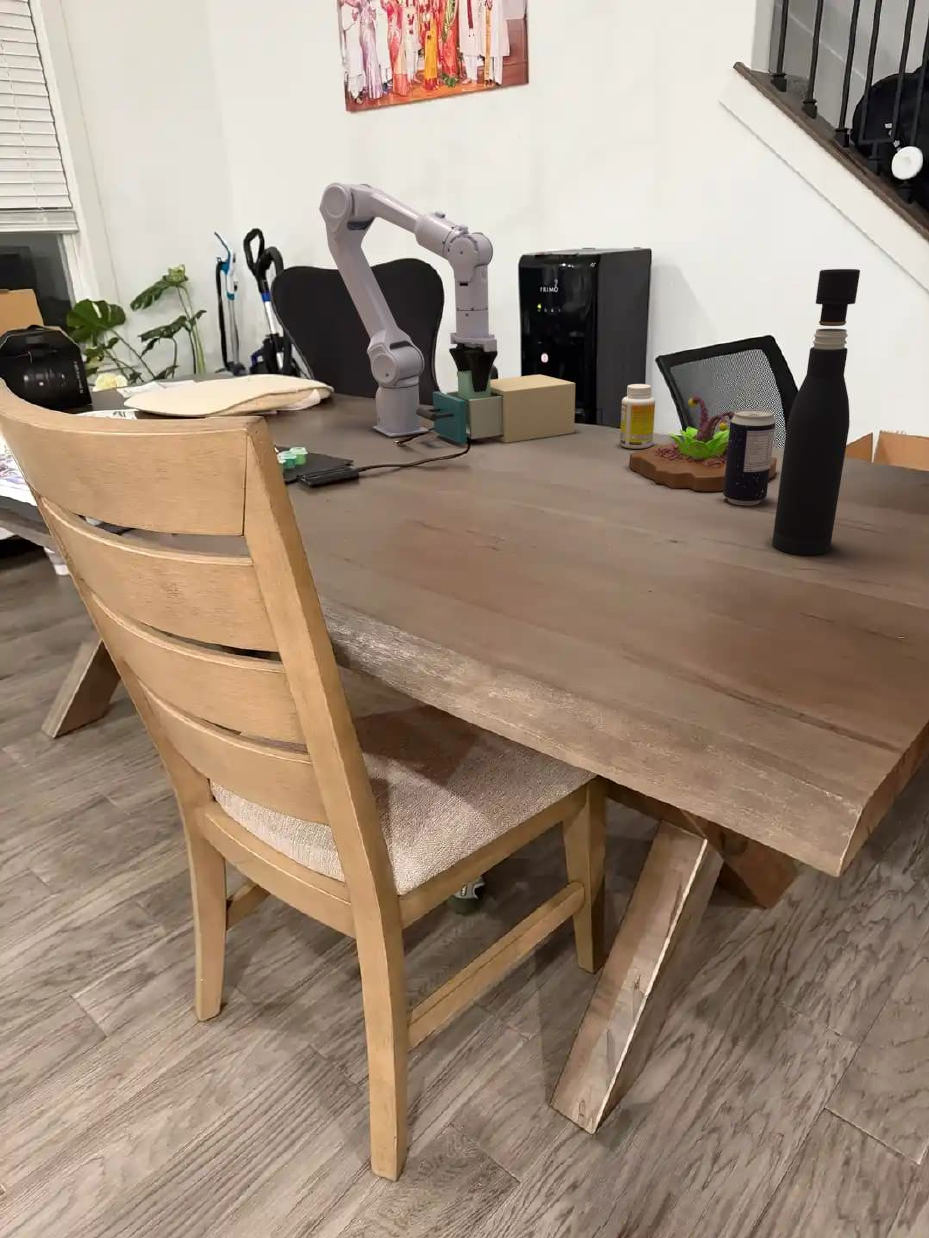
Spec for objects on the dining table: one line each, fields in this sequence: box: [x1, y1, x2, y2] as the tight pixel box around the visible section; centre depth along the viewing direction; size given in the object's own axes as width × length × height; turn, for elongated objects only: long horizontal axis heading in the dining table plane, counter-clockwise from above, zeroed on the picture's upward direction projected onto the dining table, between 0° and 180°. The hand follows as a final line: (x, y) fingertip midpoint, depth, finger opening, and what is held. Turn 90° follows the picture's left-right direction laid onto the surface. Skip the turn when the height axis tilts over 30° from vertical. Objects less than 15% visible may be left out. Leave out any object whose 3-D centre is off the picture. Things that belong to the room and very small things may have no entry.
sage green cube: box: [457, 371, 491, 400], centre depth 152 cm, size 4×4×4 cm
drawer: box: [416, 390, 503, 444], centre depth 153 cm, size 18×11×7 cm, turn 116°
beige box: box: [490, 374, 576, 444], centre depth 158 cm, size 15×13×9 cm
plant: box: [628, 396, 778, 492], centre depth 128 cm, size 20×20×11 cm
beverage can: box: [722, 408, 776, 506], centre depth 113 cm, size 6×6×12 cm
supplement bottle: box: [619, 383, 656, 450], centre depth 144 cm, size 6×6×10 cm
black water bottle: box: [771, 268, 861, 556], centre depth 93 cm, size 6×6×30 cm
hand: (474, 389), depth 152 cm, fingers closed on sage green cube, 4 cm apart
